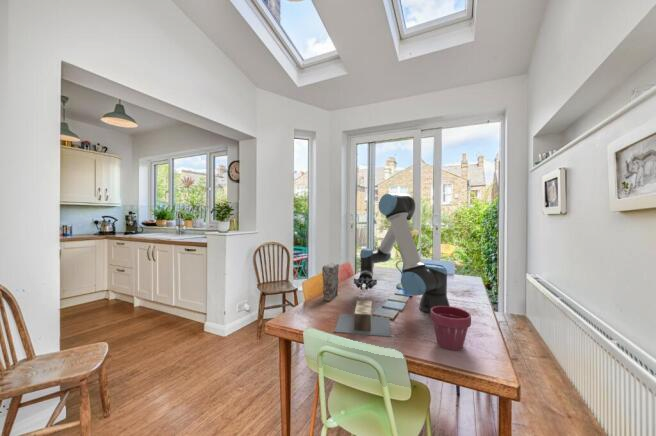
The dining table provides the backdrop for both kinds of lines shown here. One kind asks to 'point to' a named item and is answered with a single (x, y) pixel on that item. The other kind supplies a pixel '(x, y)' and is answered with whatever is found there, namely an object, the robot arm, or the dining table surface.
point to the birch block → (363, 316)
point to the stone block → (330, 281)
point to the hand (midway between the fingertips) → (363, 289)
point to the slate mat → (378, 328)
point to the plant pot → (450, 326)
